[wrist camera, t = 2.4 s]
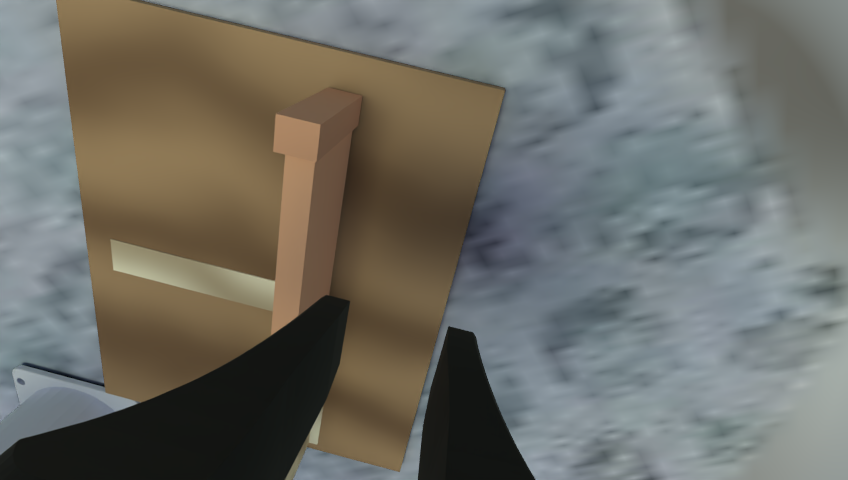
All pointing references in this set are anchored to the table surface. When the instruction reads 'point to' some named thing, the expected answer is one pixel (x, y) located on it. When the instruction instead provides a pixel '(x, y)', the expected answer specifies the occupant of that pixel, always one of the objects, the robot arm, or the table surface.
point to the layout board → (263, 204)
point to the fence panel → (311, 196)
